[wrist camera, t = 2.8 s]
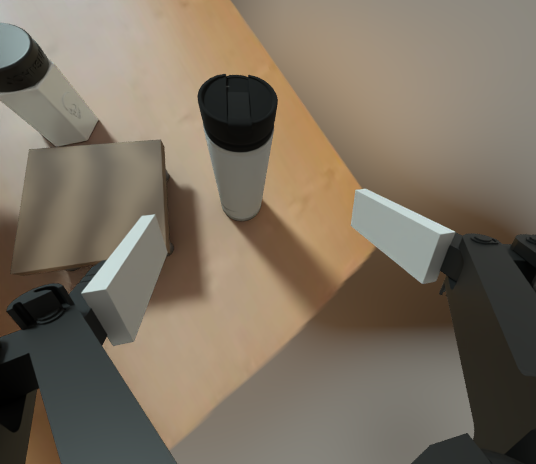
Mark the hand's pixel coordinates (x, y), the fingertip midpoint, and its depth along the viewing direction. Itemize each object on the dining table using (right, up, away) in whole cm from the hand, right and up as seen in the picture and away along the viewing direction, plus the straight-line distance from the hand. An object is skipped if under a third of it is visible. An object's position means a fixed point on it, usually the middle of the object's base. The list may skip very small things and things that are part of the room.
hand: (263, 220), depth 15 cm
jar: (-33, +17, +22) cm, 43 cm away
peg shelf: (-22, +2, +18) cm, 28 cm away
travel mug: (-4, +4, +21) cm, 22 cm away
